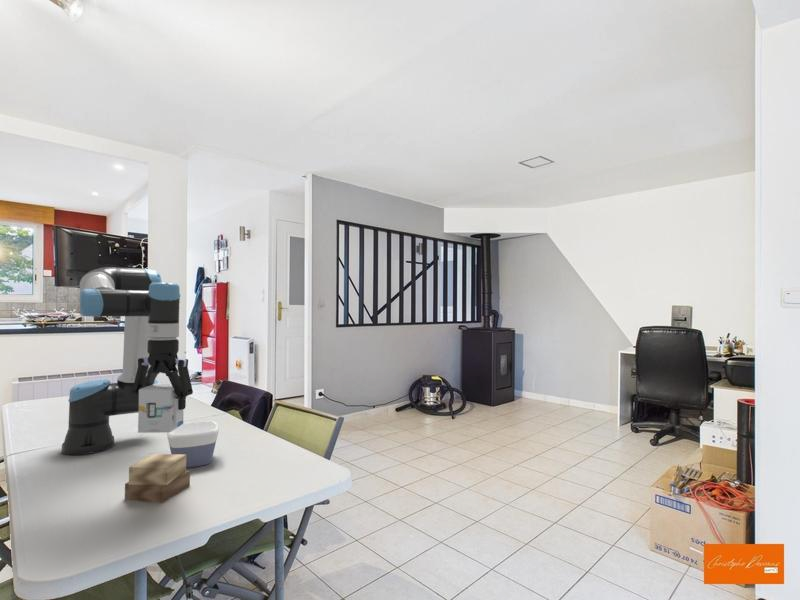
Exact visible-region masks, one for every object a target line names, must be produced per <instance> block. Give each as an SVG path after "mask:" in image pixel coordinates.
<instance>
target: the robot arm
mask: <svg viewBox="0 0 800 600" xmlns="http://www.w3.org/2000/svg"><path fill="white" fill-rule="evenodd" d="M78 287H79V290H80V291H79V300H78V301H79V302H78V304H79V315H80V316H82V317H93V318H99V317H124V326H123V327H124V334H123V355H122V373H121V374H120V375H118V377H117V378H116V382H112V383H111V380H110V379H97V380H96V379H95V380H92V381H91V380H90V381H85V382H82V383H79V384H76V385H73V386H72V387H71V388H70V389H69V397H68V402H69V405H68V430H67V432H66V434H65V436H64V437H65V438H64V440H63V443H62V444H61V454H63V455H66V456H69V455H70V456H80V455H88V454H93V453H98V452H102V451H106V450H108V449H110V448H112V447H114V445H115V436H114V435H113V431H112V428H111V426H110V417H112V416H120V415H128V414H129V415H130V414H136V413H137V414H139V389H141V388H144V387H147V386H149V385H152V384H159V381H158V379H157V376H158V375H159V374H160V373H161V374H165V376H166V377H167V378H168V380H169V382H170V384H172V387H173V388H174V391H175V393H176V395H177V397H176V398H174V423H177V422H180V421H182V420H183V421H184V410H185V409H186V406H187V405H186V404H187V403H186V402H187V401H186V399H187V396H190V395H193V394H194V391H193V387H192V386H193V385H192V382H191V378H190V372H189V369H188V368H189V367H188V366H189V359H188V358H184V359H183V358H179V357H178V353H179V349H180V345H179V343H180V342H179V341H180V340H179V339H178V338H179V337H180V300H181V294H180V291H181V290H180V285H179V284H178V283H175V282H163V281H162V278H161V274H160V273H159V271H158V270H155V269H149V268H139V267H138V268H137V267H119V266H118V267H115V266H106V267H99V268H96V269H93V270H90V271H88V272H86V273H85V274H84V275H83V276H82V277H81V278H80V281H79V285H78Z"/></svg>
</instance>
